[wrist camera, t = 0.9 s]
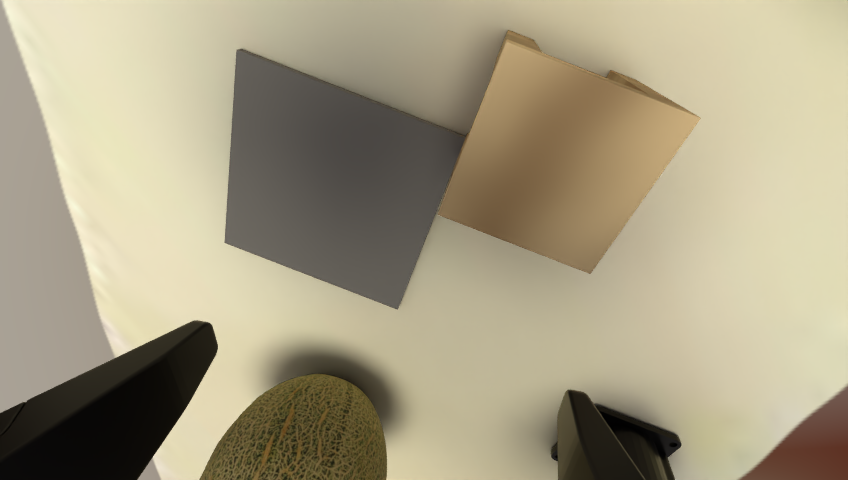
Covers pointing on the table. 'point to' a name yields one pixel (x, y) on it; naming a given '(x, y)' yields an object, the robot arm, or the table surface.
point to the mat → (332, 179)
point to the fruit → (303, 435)
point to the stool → (561, 155)
